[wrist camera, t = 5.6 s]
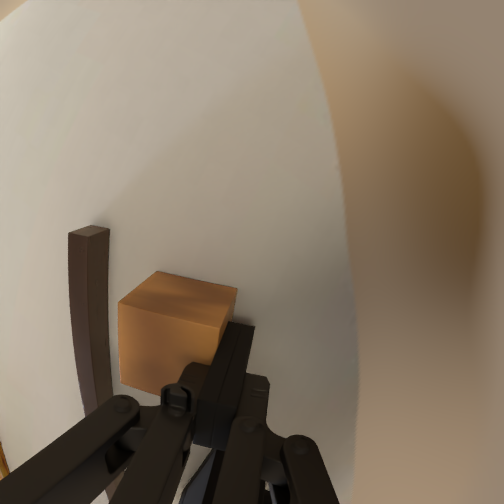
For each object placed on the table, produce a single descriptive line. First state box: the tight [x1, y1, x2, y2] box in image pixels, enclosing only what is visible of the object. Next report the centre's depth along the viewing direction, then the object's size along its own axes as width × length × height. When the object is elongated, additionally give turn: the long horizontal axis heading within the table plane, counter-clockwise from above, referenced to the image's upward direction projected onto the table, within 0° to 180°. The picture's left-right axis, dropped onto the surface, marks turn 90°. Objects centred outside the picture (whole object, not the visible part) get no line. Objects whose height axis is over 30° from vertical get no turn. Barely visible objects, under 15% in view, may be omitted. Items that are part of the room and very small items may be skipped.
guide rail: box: [68, 225, 125, 502], centre depth 23 cm, size 2×42×2 cm, turn 170°
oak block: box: [118, 271, 237, 396], centre depth 17 cm, size 5×5×5 cm
